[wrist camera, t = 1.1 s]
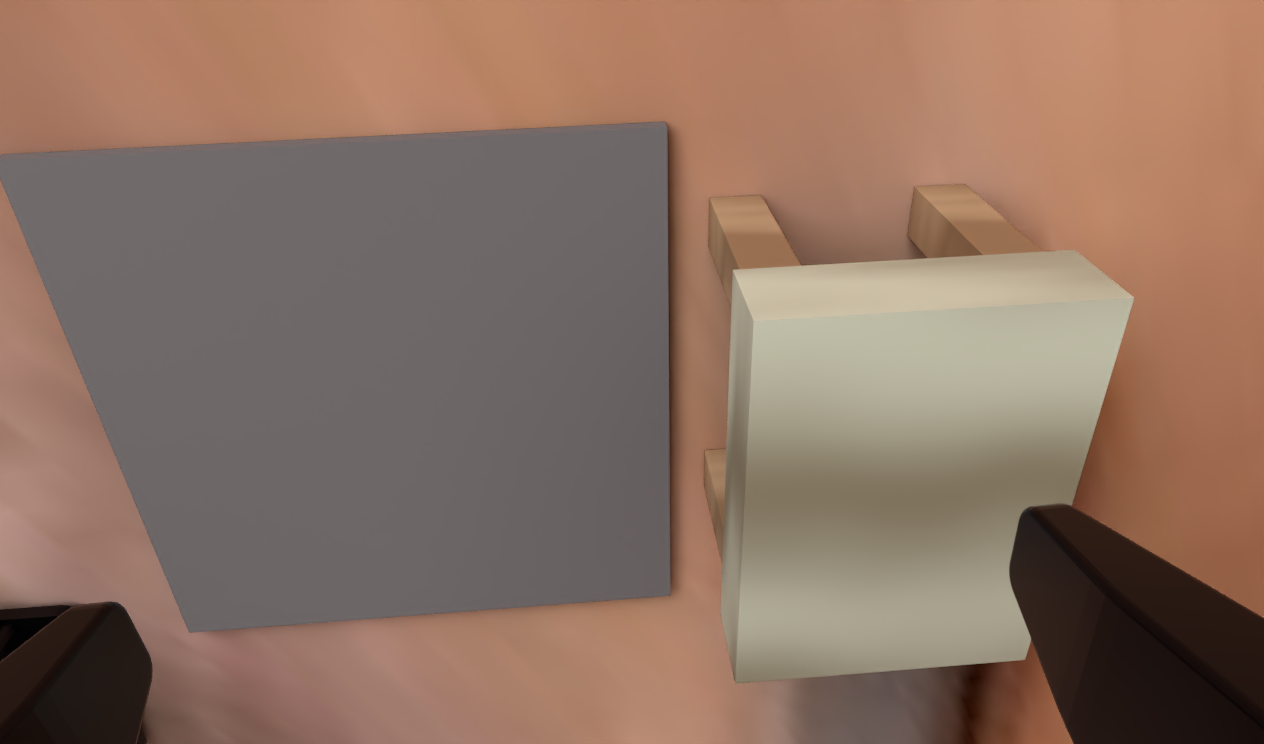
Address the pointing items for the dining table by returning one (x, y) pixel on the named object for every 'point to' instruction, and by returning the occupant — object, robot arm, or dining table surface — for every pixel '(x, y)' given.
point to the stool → (896, 435)
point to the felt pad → (375, 363)
